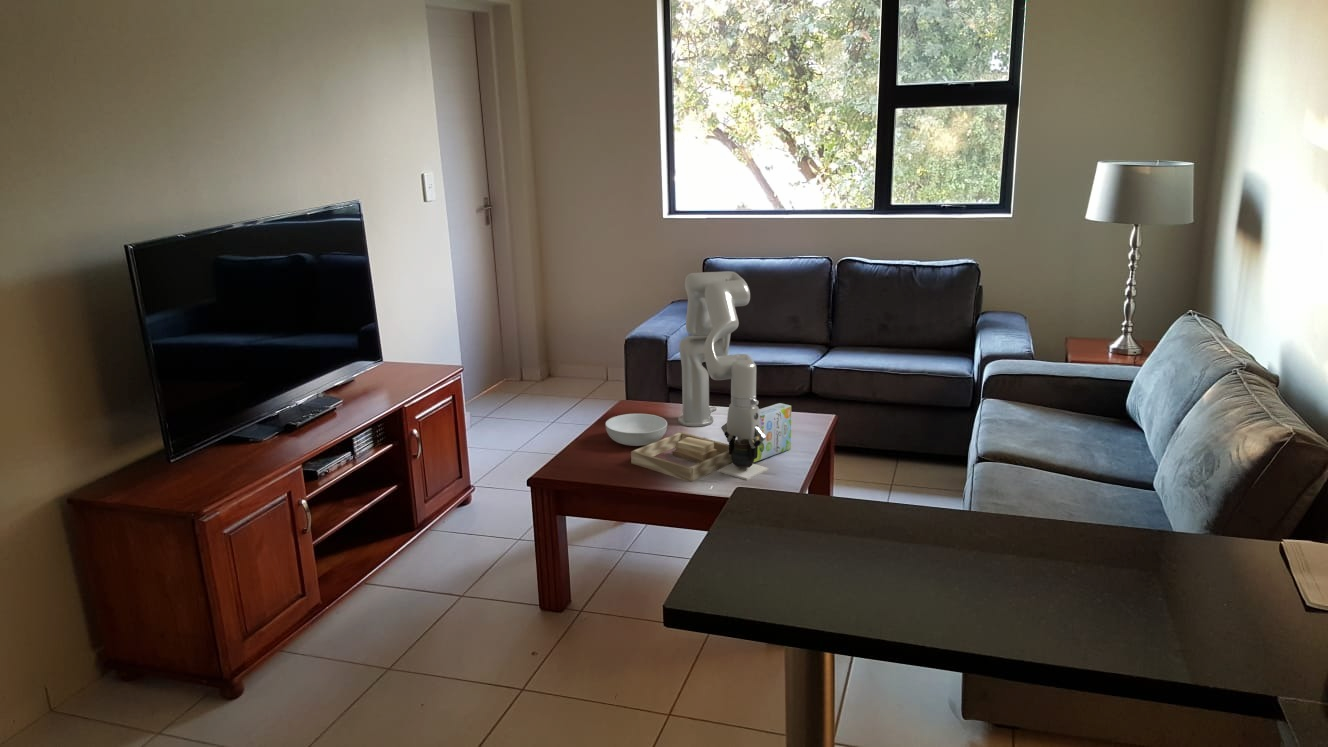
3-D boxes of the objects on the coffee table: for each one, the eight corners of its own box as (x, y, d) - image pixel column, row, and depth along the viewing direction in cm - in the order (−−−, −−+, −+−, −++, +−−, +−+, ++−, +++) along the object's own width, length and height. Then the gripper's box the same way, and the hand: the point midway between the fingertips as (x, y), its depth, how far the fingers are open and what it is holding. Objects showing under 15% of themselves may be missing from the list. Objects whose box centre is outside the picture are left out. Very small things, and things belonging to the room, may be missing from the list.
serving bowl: (641, 456, 292) (641, 436, 290) (593, 444, 304) (592, 425, 302) (679, 439, 308) (679, 419, 306) (632, 428, 320) (631, 409, 318)
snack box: (777, 445, 299) (779, 402, 296) (791, 449, 296) (793, 405, 292) (735, 460, 285) (736, 414, 281) (749, 465, 281) (750, 418, 278)
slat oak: (690, 446, 297) (690, 440, 296) (717, 455, 288) (717, 449, 288) (676, 451, 292) (676, 445, 292) (702, 460, 284) (702, 454, 283)
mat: (739, 461, 286) (739, 459, 286) (768, 469, 279) (768, 467, 279) (718, 471, 278) (718, 469, 278) (746, 480, 271) (746, 478, 271)
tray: (681, 443, 304) (681, 431, 303) (739, 459, 288) (739, 447, 287) (631, 463, 286) (631, 451, 285) (690, 481, 270) (690, 469, 269)
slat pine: (688, 442, 295) (688, 436, 294) (713, 447, 289) (713, 442, 289) (677, 447, 290) (677, 442, 290) (703, 453, 285) (703, 447, 284)
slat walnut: (686, 451, 298) (686, 445, 297) (719, 461, 289) (719, 455, 288) (672, 457, 293) (672, 451, 293) (705, 467, 284) (705, 461, 283)
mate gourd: (759, 465, 278) (760, 434, 276) (744, 472, 273) (745, 441, 270) (741, 460, 283) (741, 429, 280) (726, 466, 278) (726, 436, 275)
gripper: (774, 403, 270) (773, 459, 274) (728, 393, 281) (728, 446, 286) (759, 409, 264) (758, 466, 269) (713, 398, 275) (713, 453, 280)
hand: (743, 455), depth 277 cm, fingers closed on mate gourd, 7 cm apart
